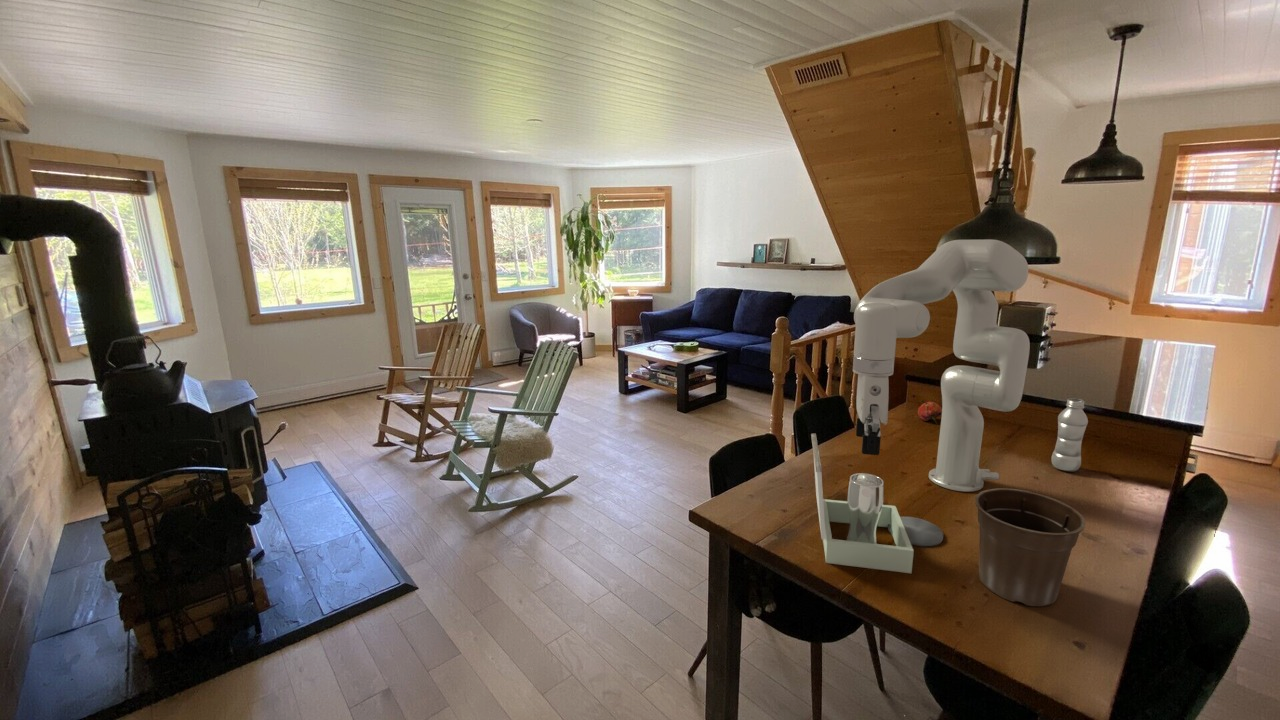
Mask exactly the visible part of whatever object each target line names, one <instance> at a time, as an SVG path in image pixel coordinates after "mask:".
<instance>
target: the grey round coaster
mask: <svg viewBox="0 0 1280 720" xmlns="http://www.w3.org/2000/svg"><path fill="white" fill-rule="evenodd" d="M900 518H901V521H902V523H903V526H904V528H905V531H906V533H907V535H908V538H909V540H910V543H911V545H912V546H917V547H935V546H938V545H940V544H941V543H942V542H943V541H944V531H942V529H941V528H940V527H939V526H937V524H934V523H933V522H930V521H928V520H925V519H922V518H919V517H913V516H900ZM887 530H888V532H889V534H891V536H893V531H892V528H891V526H890V524H888V527H887Z"/></svg>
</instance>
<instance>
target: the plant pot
mask: <svg viewBox="0 0 1280 720" xmlns="http://www.w3.org/2000/svg"><path fill="white" fill-rule="evenodd" d="M974 503H975V506H976V508H977V521H978V523H979V541H978V542H979V544H978V545H979V546H978V547H979V552H978V553H979V557H978V563H979V564H978V566H979V567H978V575H979V580H980V581H981V582H982V584H983V585H984V586H985V588H987V589H988V590H989V591H991V592H992V593H994V594H995V595H997V596H998V597H1000V598H1002V599H1005V600H1007V601H1009V602H1011V603H1013V602H1019V603H1022V604H1024V605H1025V606H1028V607H1045V606H1049V605H1051V604H1054V603H1055V602H1056V601H1057V599H1058V596H1059V592H1060V589H1061V586H1062V582H1063V579H1064V576H1065V572H1066V569H1067V566H1068V562H1069V559H1070V556H1071V554H1072V553H1071V552H1072V549H1073V548H1074V547H1075V546H1076V545H1077V542H1078V539H1079V535H1080V533H1081V532H1082V531H1084V529H1085V528H1086V527H1085V526H1086V520H1085V518H1084V516H1083V515H1082V514H1081V513H1080V512H1079V511H1078V510H1076V509H1075V508H1074V507H1071V506H1070V505H1068V504H1067V503H1064V502H1063V501H1060V500H1058V499H1055V498H1053V497H1050V496H1047V495H1044V494H1040V493H1036V492H1033V491H1028V490H1025V489H1017V488H992V489H986V490H983V491H980V492H979V493H978V494H976V496H975V499H974Z"/></svg>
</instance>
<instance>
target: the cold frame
mask: <svg viewBox="0 0 1280 720" xmlns="http://www.w3.org/2000/svg"><path fill="white" fill-rule="evenodd" d="M823 504H824V520H825V535H826V540H822V545H823V550H824V551H823V552H824V556H825V557H824V558H825V563H826V564H833V565H839V566H849V567H855V568H856V567H858V568H865V569H866V568H867V569H872V570H880V571H889V572H897V573H898V572H899V573H904V574H905V573H906V574H912V572H913V562H914V561H913V560H914V552H915V551H914V547H913V545H912V544H911V543H910V540H909V538H908V535H907V533H906V531H905V528H904V526H903V523H902V521H901V518H900V517H901V516H900V514H899V512H898V508H897V507H896V505H890V504H883V506H882V511H881V514H880V518H879V521H878V524H877V527H882V528H888V524H890V526H891V528H892V531H893V535H892V538H893V540H894V543H895V545H890V544H889V545H888V544H881V543H880V544H879V543H877V544H872V543H863V542H855V541H847V539H846V540H843V539H835V538H833V537H832V536H833V535H832V530H831V524H830V523H831V522H832V523H842V524H850V520H849V512H848V502H847V500H835V499H824V498H823Z"/></svg>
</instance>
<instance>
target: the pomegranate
mask: <svg viewBox="0 0 1280 720" xmlns="http://www.w3.org/2000/svg"><path fill="white" fill-rule="evenodd" d="M920 402H921V403H922V404H921V405H920V406H919V407H918V410H917V415H918V417H919V419H921V420H922V421H923V422H927V421H934V422H935V423H936V425H938V423H937V421H936V419H937V418H939V417H940V416H942V407H941V406H940V405H939V403H937V402H935V401H928V402H925V400H921V401H920Z"/></svg>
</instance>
